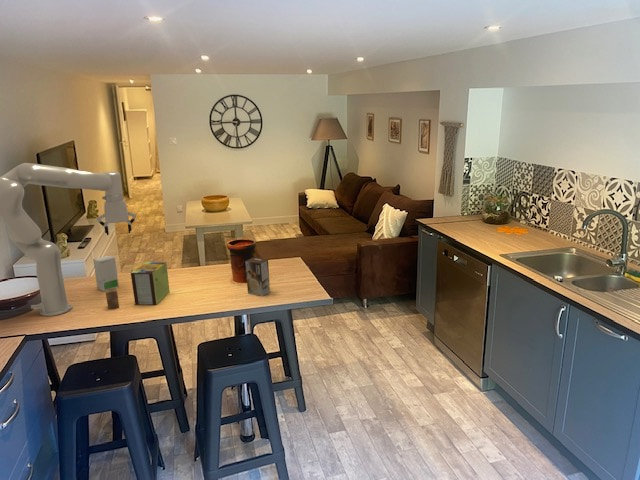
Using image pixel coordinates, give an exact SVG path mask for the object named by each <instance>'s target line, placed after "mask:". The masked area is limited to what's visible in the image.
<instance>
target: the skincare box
mask: <svg viewBox="0 0 640 480" xmlns="http://www.w3.org/2000/svg"><path fill="white" fill-rule="evenodd" d="M93 268H94V274H95V280H96V288H97V290H100V291H101V292H106V289H112V288H116V289H117V288H119V287H120V286H119V277H118V271H117V262H116V257H115V256H111V255H106V256H101V257H96V258H93Z"/></svg>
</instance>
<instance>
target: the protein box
mask: <svg viewBox="0 0 640 480" xmlns="http://www.w3.org/2000/svg"><path fill="white" fill-rule="evenodd" d="M130 279H131V285H132V286H131V287H132V291H133V298H134V305H138V306H139V305H140V306H141V305H142V306H143V305H144V306H146V305H147V306H157V305H158V304H159V303H160V302H161V301H162V300H164V298H166V297H167V296H168V295H169V294H170V293H171V291H170V282H169V274H168V265H167V262H166V261H145V262H143V263H142V264H141V265H139V266H138V267H137V268H135V269H134V270H132V271H131V272H130Z"/></svg>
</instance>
